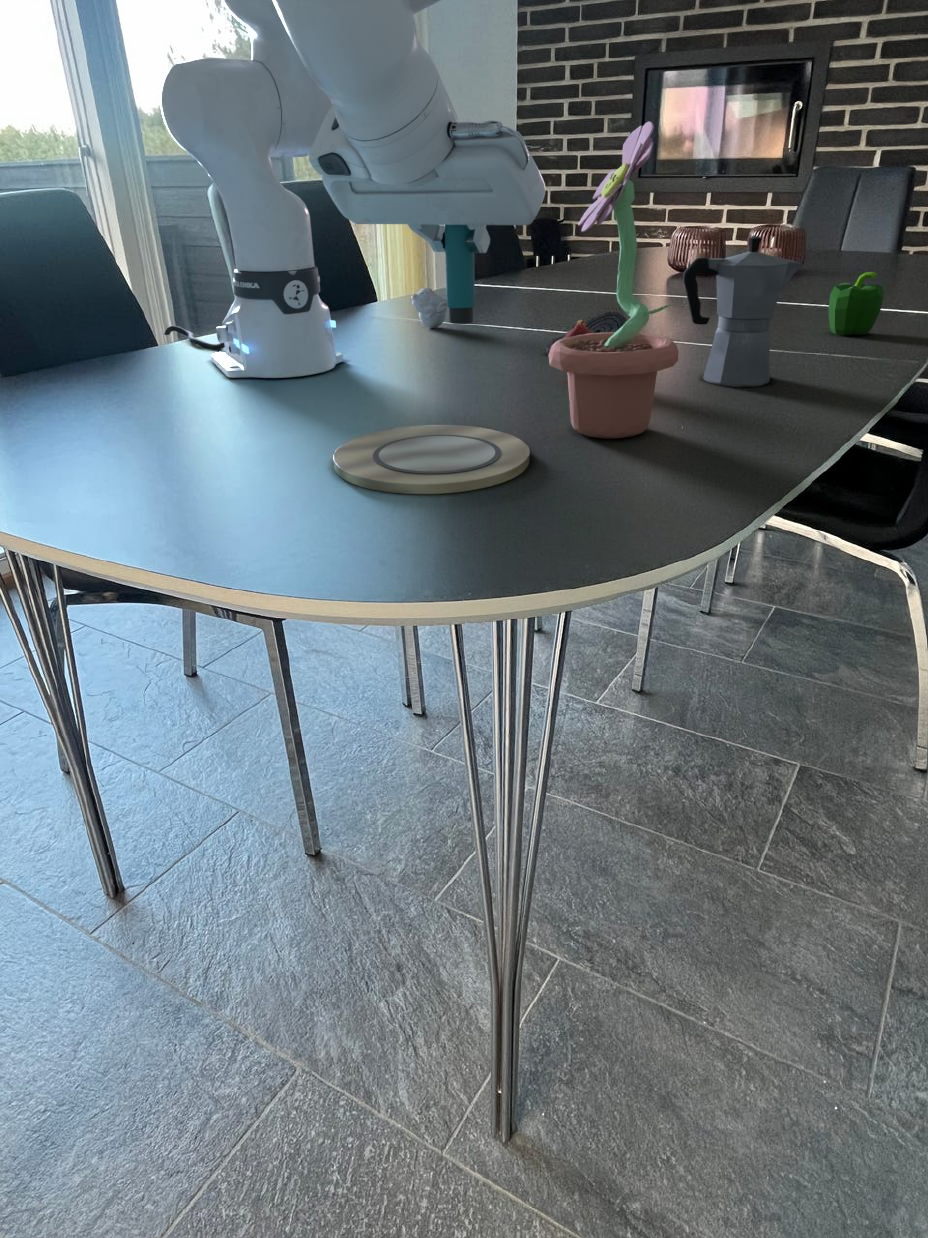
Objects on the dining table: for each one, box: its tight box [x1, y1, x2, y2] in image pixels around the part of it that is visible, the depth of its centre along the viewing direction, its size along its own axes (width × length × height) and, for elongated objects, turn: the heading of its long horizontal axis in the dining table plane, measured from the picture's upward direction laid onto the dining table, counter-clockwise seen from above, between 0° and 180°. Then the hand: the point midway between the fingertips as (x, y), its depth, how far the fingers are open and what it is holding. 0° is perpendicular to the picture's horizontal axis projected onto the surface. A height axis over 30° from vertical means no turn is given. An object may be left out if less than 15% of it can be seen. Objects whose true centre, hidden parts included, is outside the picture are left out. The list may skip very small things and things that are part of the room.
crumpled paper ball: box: [411, 287, 448, 329], centre depth 155 cm, size 6×7×7 cm
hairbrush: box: [546, 307, 628, 357], centre depth 140 cm, size 8×4×25 cm
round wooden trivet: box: [332, 424, 531, 495], centre depth 85 cm, size 20×20×1 cm
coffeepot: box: [682, 235, 803, 388], centre depth 111 cm, size 15×9×18 cm, turn 92°
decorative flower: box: [548, 120, 679, 440], centre depth 88 cm, size 15×14×30 cm
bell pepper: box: [828, 271, 885, 337], centre depth 141 cm, size 8×8×10 cm
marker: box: [443, 225, 476, 325], centre depth 81 cm, size 3×3×12 cm
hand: (462, 246), depth 81 cm, fingers closed on marker, 3 cm apart
